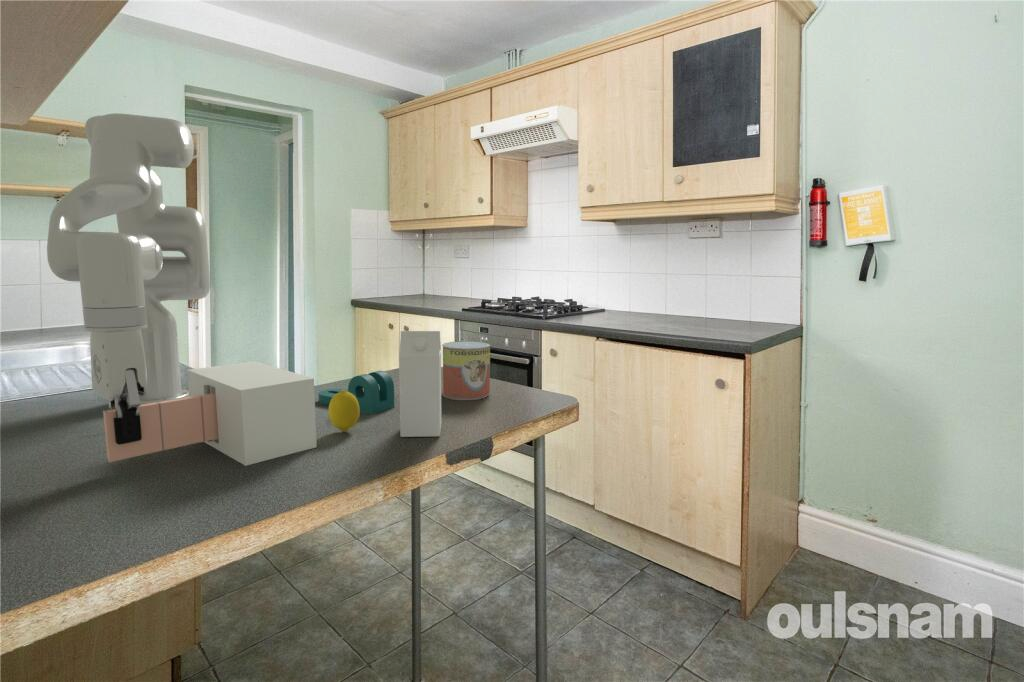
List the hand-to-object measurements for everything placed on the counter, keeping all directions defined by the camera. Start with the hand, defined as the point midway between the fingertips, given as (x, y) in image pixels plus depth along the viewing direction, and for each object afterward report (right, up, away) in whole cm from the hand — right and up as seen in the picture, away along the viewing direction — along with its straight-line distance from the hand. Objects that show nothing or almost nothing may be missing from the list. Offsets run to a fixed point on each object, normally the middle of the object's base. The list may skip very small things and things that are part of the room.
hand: (126, 440), depth 85 cm
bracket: (+23, 0, +40) cm, 46 cm away
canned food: (+47, +2, +50) cm, 69 cm away
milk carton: (+41, -2, +21) cm, 46 cm away
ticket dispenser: (+12, -3, +14) cm, 19 cm away
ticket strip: (+4, -2, +5) cm, 7 cm away
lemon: (+27, -2, +20) cm, 34 cm away
